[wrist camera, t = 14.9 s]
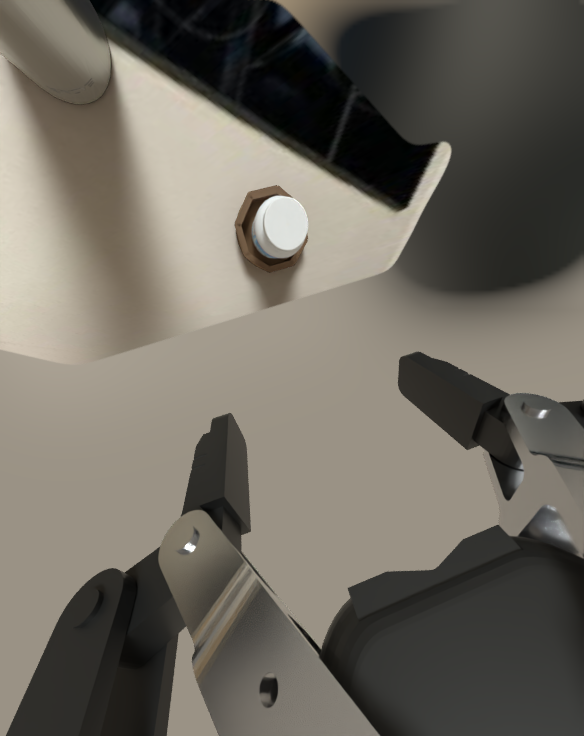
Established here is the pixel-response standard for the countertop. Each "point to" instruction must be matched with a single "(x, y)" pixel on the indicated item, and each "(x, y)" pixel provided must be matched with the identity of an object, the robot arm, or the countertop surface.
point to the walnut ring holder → (245, 227)
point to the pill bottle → (279, 227)
